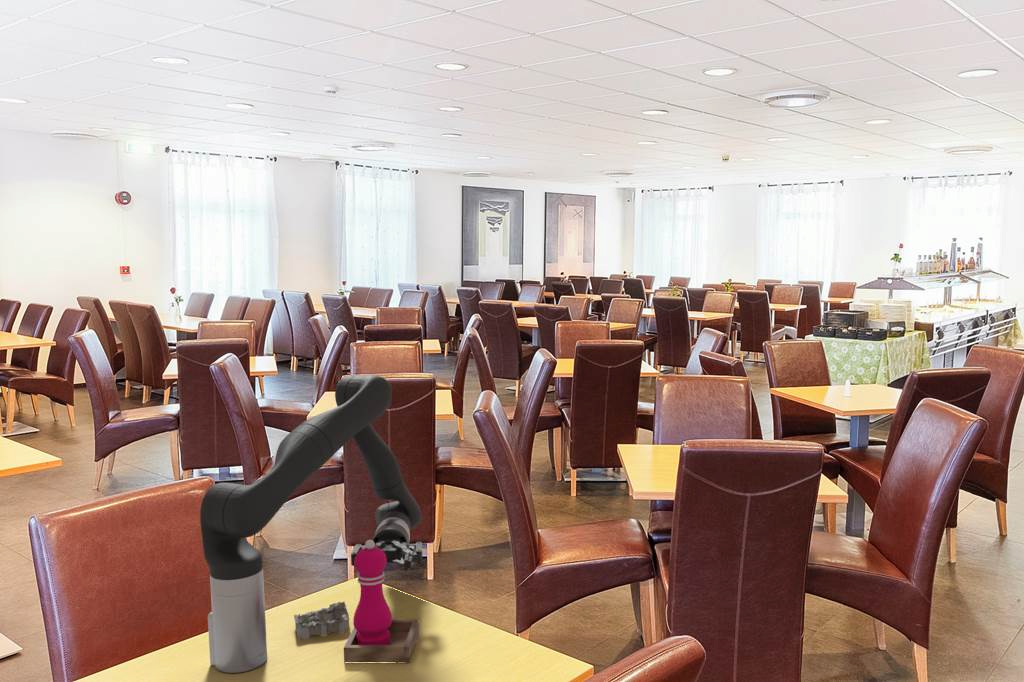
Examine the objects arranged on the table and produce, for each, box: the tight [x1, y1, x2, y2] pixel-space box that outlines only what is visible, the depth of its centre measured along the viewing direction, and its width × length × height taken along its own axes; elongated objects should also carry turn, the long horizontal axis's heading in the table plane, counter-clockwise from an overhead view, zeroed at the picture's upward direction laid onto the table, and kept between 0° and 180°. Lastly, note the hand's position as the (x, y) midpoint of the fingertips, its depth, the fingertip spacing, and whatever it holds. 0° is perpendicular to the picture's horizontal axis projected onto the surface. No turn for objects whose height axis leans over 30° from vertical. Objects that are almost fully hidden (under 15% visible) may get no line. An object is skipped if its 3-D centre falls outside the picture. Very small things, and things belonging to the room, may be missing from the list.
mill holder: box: [343, 618, 420, 664], centre depth 160 cm, size 12×12×3 cm
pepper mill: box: [352, 539, 393, 645], centre depth 159 cm, size 7×7×20 cm
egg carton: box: [293, 601, 350, 640], centre depth 169 cm, size 11×8×4 cm
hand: (384, 566), depth 165 cm, fingers open, 8 cm apart
